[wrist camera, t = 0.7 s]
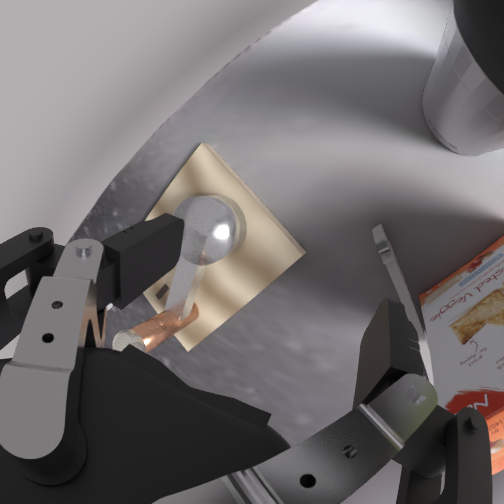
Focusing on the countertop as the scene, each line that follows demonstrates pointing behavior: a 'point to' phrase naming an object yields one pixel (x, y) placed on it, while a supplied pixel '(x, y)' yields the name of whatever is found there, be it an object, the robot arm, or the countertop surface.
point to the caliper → (402, 292)
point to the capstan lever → (191, 266)
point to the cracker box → (470, 341)
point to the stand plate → (236, 265)
